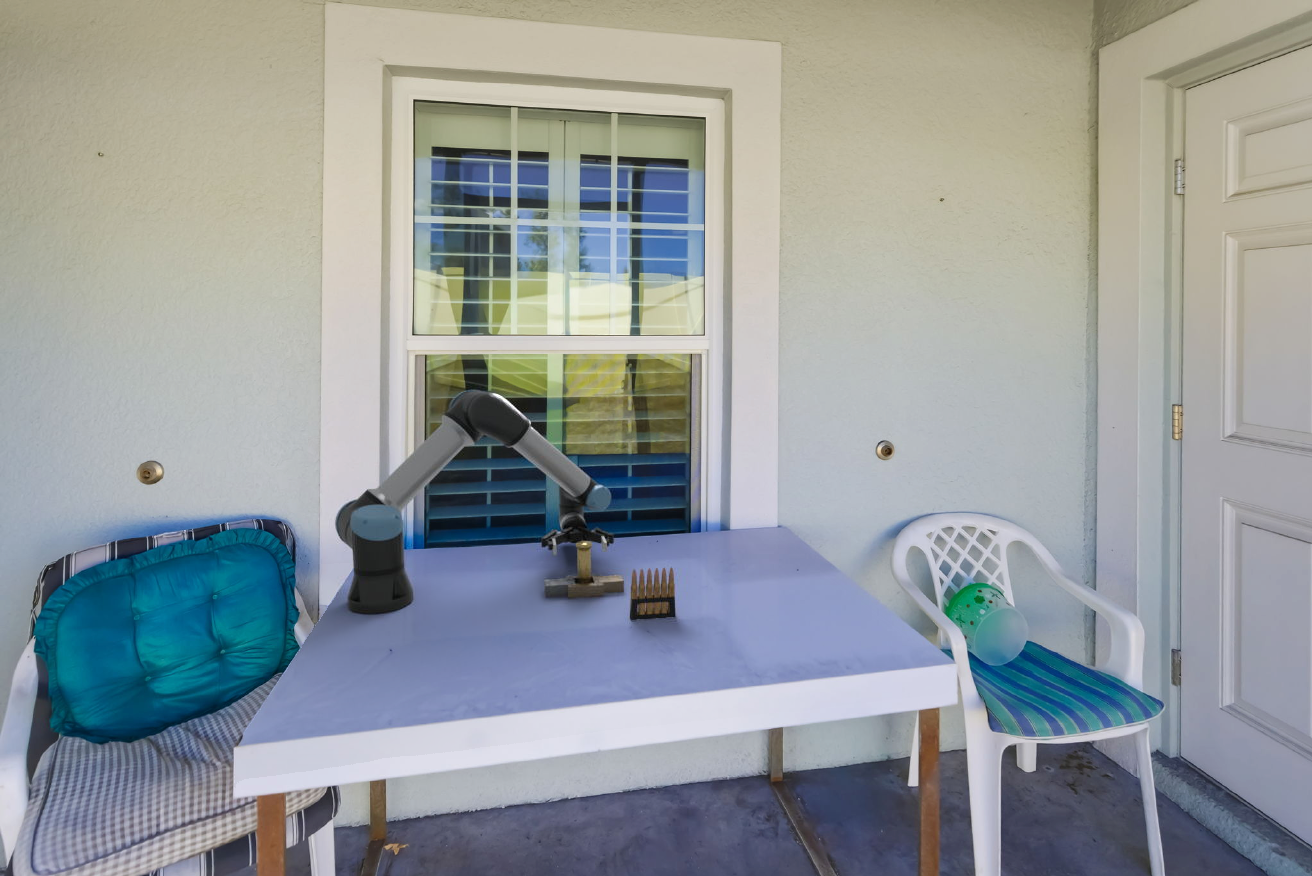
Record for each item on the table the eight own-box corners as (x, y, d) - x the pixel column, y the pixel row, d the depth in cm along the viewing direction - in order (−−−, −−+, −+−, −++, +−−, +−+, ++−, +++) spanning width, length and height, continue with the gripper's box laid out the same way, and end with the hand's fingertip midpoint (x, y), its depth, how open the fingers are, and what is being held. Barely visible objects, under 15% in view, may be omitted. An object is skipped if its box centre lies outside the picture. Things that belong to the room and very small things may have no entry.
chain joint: (546, 600, 174) (545, 588, 174) (544, 588, 183) (544, 577, 182) (625, 594, 178) (625, 583, 178) (619, 583, 187) (619, 572, 187)
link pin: (577, 594, 178) (576, 546, 176) (575, 589, 182) (575, 541, 181) (593, 593, 179) (593, 545, 177) (591, 588, 183) (591, 540, 181)
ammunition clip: (674, 614, 166) (674, 565, 164) (675, 617, 164) (676, 568, 163) (629, 617, 164) (629, 568, 162) (630, 620, 162) (630, 570, 161)
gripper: (615, 538, 212) (626, 559, 191) (531, 542, 207) (533, 565, 186) (615, 513, 211) (626, 532, 190) (531, 517, 206) (533, 537, 185)
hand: (580, 548), depth 188 cm, fingers open, 13 cm apart
